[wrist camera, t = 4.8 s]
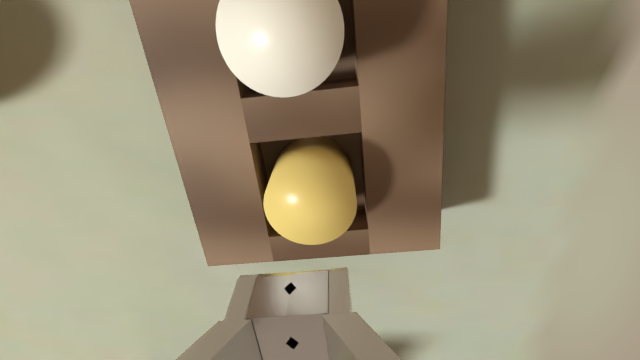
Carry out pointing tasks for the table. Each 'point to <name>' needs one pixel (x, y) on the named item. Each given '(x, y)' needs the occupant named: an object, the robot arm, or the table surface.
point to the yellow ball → (311, 192)
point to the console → (306, 127)
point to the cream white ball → (280, 43)
